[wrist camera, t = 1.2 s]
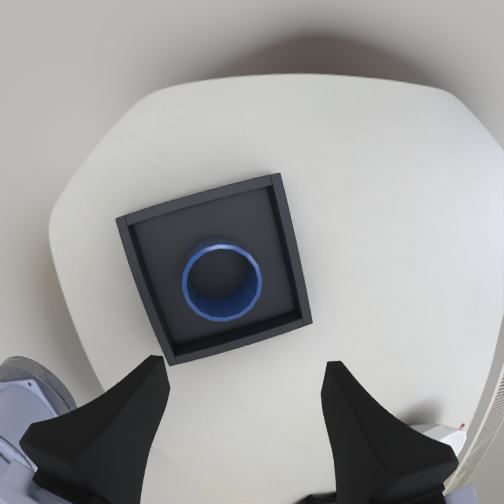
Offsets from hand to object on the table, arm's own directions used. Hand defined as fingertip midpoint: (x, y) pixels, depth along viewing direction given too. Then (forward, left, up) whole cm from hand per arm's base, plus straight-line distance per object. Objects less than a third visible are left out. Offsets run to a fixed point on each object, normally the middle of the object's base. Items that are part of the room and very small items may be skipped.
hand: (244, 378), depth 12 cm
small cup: (0, +2, -13) cm, 13 cm away
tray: (0, +2, -13) cm, 13 cm away
